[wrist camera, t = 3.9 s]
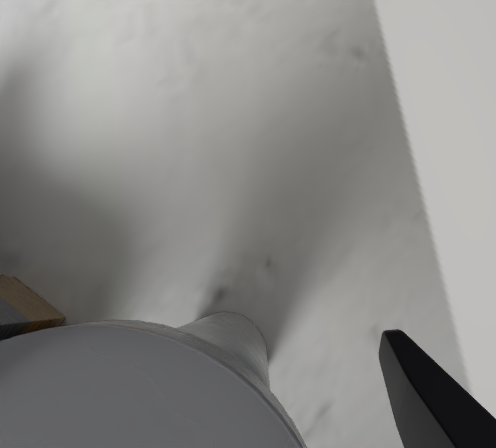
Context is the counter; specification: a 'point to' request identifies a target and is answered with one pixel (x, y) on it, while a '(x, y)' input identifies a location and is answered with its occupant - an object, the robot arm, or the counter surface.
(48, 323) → the hinge
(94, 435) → the hinge pin
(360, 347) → the counter surface
